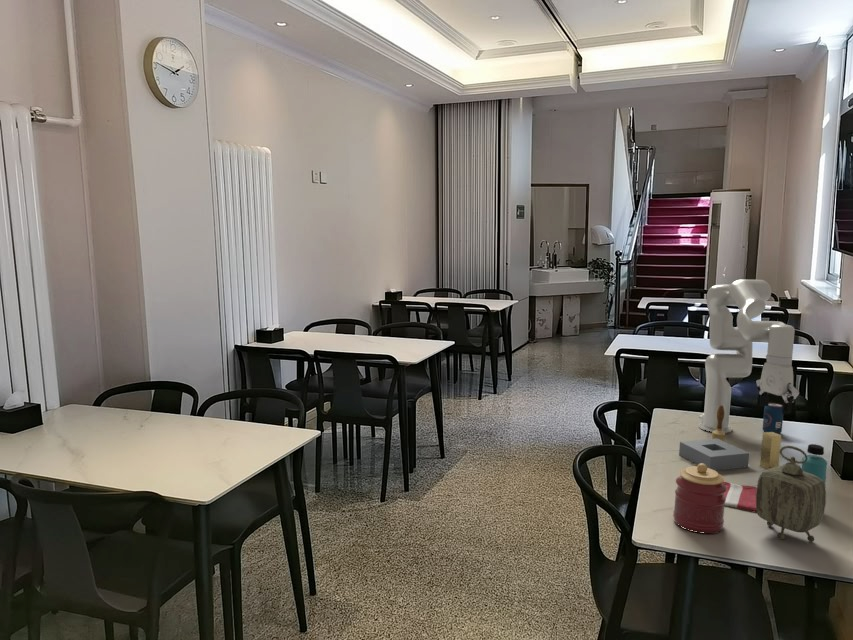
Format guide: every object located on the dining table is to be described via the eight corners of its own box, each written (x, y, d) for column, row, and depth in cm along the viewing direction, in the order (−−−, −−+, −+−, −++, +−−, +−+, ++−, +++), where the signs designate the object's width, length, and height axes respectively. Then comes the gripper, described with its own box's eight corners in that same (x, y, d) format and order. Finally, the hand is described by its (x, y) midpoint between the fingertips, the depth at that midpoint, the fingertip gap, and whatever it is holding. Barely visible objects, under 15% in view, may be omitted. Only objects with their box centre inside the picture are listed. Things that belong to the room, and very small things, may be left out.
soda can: (758, 430, 263) (761, 402, 261) (774, 430, 264) (776, 402, 262) (769, 436, 256) (771, 407, 255) (785, 435, 257) (788, 406, 255)
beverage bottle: (822, 518, 183) (830, 451, 180) (796, 512, 186) (802, 446, 184) (823, 509, 188) (830, 444, 186) (797, 504, 192) (803, 440, 189)
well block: (679, 454, 233) (680, 441, 232) (715, 451, 237) (716, 438, 237) (709, 470, 218) (710, 456, 217) (748, 466, 222) (749, 453, 222)
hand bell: (734, 447, 243) (737, 406, 240) (721, 451, 238) (725, 409, 236) (713, 441, 249) (716, 401, 247) (701, 444, 245) (704, 404, 242)
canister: (729, 537, 171) (734, 474, 168) (678, 532, 173) (682, 470, 170) (716, 516, 183) (721, 457, 181) (668, 512, 186) (672, 453, 183)
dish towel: (691, 480, 211) (691, 473, 210) (771, 496, 199) (772, 488, 198) (682, 498, 196) (683, 490, 196) (768, 517, 184) (769, 508, 184)
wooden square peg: (759, 465, 224) (762, 432, 222) (769, 464, 225) (772, 431, 223) (768, 469, 220) (771, 436, 218) (778, 468, 221) (781, 435, 219)
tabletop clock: (821, 542, 168) (831, 451, 165) (805, 552, 163) (814, 458, 160) (766, 522, 180) (774, 436, 176) (749, 530, 175) (757, 442, 171)
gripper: (750, 356, 224) (746, 404, 226) (791, 366, 208) (786, 417, 210) (768, 355, 226) (764, 402, 228) (809, 365, 210) (804, 416, 212)
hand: (774, 409), depth 219 cm, fingers open, 9 cm apart
